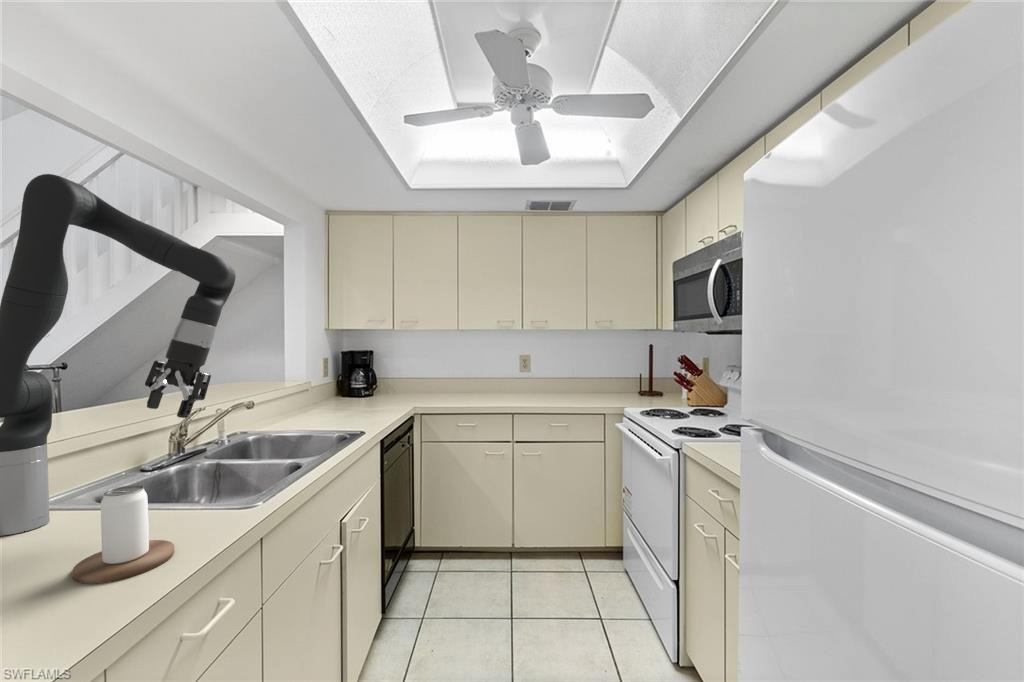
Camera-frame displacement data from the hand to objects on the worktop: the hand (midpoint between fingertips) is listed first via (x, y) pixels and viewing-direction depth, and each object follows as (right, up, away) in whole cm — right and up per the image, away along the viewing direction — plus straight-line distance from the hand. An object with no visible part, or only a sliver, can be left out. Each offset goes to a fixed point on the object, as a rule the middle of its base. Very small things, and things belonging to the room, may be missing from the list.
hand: (166, 412), depth 104 cm
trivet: (+7, -24, -20) cm, 32 cm away
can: (+7, -23, -20) cm, 31 cm away
